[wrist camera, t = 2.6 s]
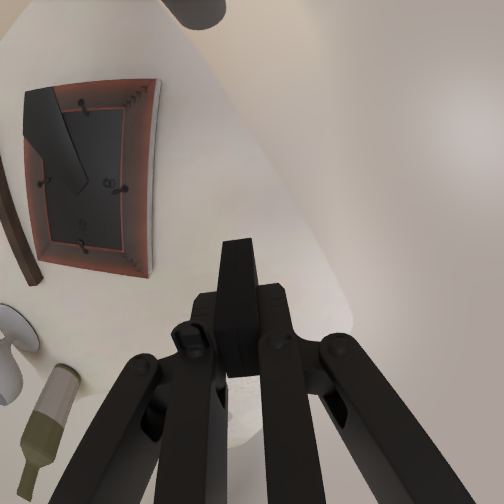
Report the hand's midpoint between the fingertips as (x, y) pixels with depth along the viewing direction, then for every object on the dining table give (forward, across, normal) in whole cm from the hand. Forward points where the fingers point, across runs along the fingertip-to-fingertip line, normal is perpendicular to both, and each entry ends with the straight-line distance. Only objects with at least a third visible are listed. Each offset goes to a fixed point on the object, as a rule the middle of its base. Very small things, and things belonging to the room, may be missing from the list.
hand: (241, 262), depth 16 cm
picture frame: (+16, -17, +4) cm, 24 cm away
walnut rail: (+16, -32, +4) cm, 36 cm away
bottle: (+16, -40, -30) cm, 52 cm away
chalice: (+16, -47, -18) cm, 53 cm away
